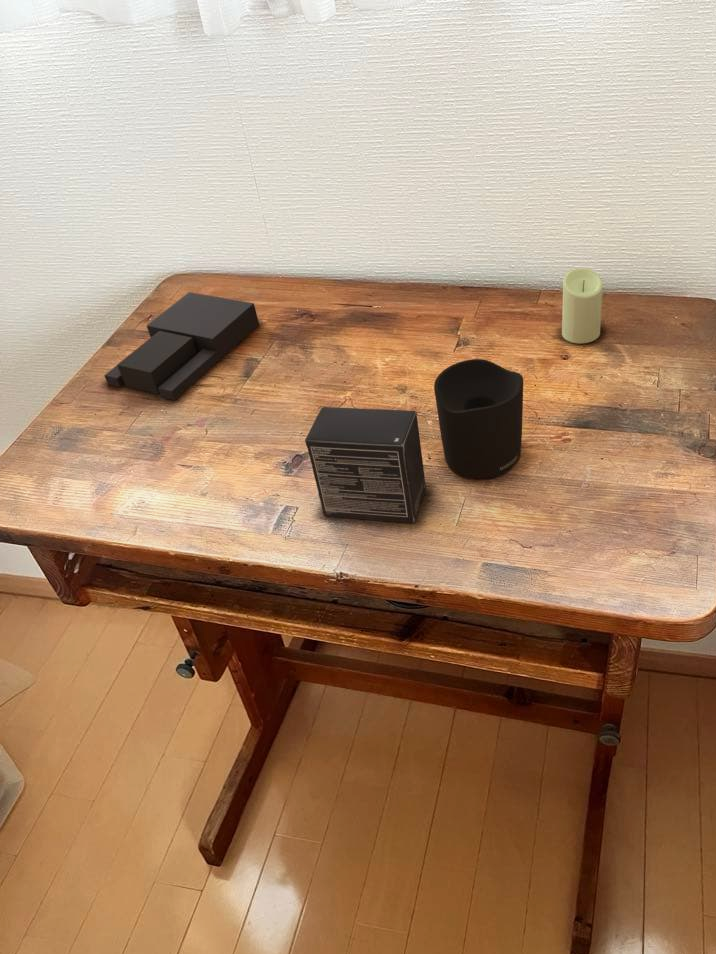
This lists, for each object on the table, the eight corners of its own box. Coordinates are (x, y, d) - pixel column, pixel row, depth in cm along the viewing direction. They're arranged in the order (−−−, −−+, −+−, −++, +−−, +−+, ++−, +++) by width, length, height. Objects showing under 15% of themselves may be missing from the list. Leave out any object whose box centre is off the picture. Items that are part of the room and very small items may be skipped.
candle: (605, 339, 109) (609, 281, 103) (569, 347, 109) (571, 289, 103) (591, 321, 113) (594, 264, 107) (556, 328, 112) (557, 272, 107)
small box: (428, 484, 92) (419, 407, 85) (415, 525, 88) (404, 447, 81) (338, 478, 95) (321, 402, 88) (321, 517, 90) (302, 441, 83)
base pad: (174, 400, 110) (166, 378, 108) (107, 384, 115) (98, 362, 112) (259, 324, 122) (254, 303, 120) (195, 312, 127) (189, 291, 124)
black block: (159, 394, 111) (150, 372, 109) (125, 386, 114) (116, 364, 111) (199, 359, 117) (192, 337, 114) (166, 352, 119) (159, 330, 117)
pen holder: (446, 488, 92) (439, 415, 85) (437, 437, 98) (429, 365, 91) (531, 477, 91) (531, 402, 84) (516, 426, 98) (514, 353, 91)
